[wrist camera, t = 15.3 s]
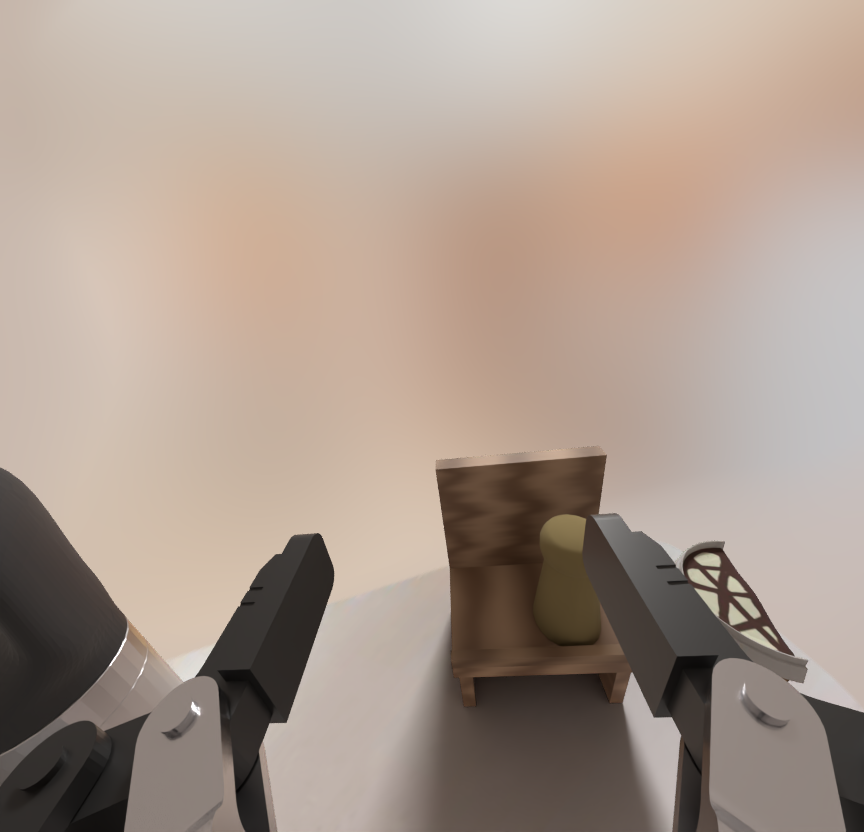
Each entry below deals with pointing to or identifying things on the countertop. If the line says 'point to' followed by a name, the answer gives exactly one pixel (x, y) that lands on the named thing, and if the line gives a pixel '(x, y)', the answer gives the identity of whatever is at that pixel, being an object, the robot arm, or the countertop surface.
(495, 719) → the countertop surface
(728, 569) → the food container
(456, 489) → the wooden chair
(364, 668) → the countertop surface
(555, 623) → the cork
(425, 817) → the countertop surface
